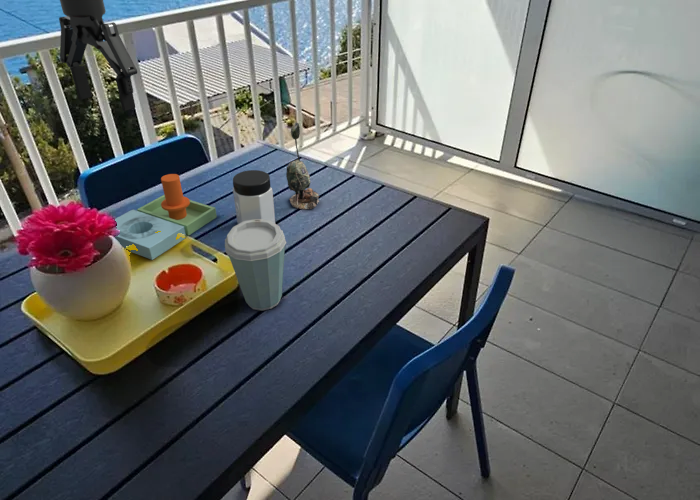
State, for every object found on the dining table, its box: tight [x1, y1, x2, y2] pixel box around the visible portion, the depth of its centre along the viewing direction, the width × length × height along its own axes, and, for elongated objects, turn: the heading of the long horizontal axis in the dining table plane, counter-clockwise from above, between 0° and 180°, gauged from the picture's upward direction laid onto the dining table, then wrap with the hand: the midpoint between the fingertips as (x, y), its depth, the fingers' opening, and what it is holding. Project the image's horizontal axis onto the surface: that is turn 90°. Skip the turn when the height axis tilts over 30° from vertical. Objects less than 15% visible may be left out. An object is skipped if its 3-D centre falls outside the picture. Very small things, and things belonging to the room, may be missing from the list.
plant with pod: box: [284, 121, 320, 210], centre depth 120 cm, size 8×11×20 cm
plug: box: [160, 173, 190, 220], centre depth 116 cm, size 6×6×10 cm
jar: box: [232, 169, 276, 225], centre depth 114 cm, size 9×8×12 cm
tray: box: [136, 194, 218, 236], centre depth 118 cm, size 16×10×3 cm, turn 62°
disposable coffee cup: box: [224, 219, 287, 312], centre depth 90 cm, size 11×11×15 cm
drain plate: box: [114, 209, 187, 261], centre depth 110 cm, size 16×10×3 cm, turn 62°
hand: (106, 103), depth 107 cm, fingers open, 13 cm apart
